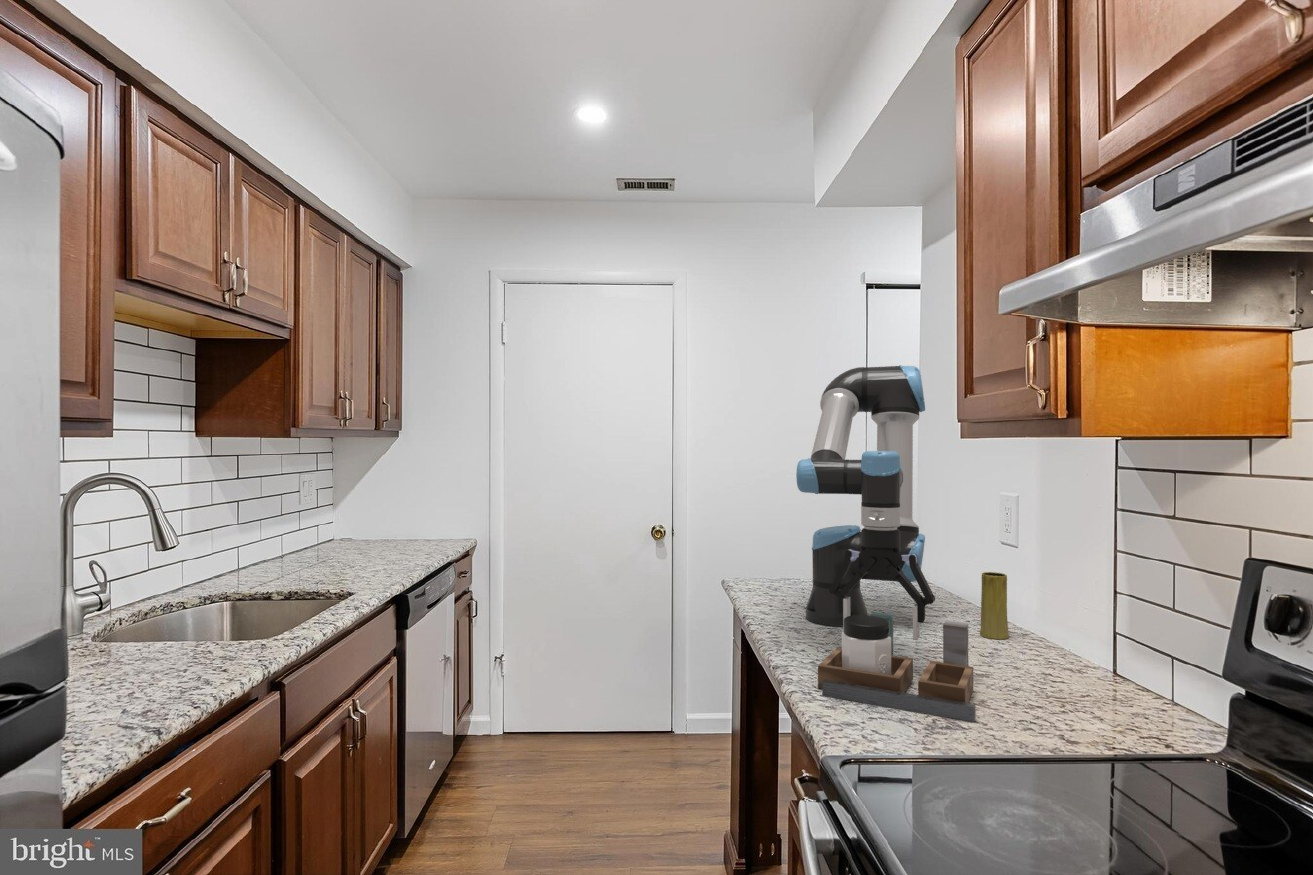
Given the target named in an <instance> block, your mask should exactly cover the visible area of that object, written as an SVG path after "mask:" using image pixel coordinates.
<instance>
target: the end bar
mask: <svg viewBox="0 0 1313 875" xmlns="http://www.w3.org/2000/svg"><path fill="white" fill-rule="evenodd" d="M821 690H822V692H821V696H822V697H828V698H834V699H839V700H845V701H850V702H857V703H864V704H869V705H873V706H874V705H875V706H879V707H886V708H892V709H897V710H903V711H909V712H914V713H921V714H926V715H931V716H937V717H943V718H948V719H952V720H953V719H955V720H959V721H960V720H961V721H967V722H971V723H975V722H976V719H977V718H976V714H977V713H976V712H977V711H976V707H977V706H976V704H975V703H970V702H969V703H964V702H958V701H952V700H946V699H940V698H934V697H928V696H922V695H918V694H913V693H909V692H905V693H903V692H897V691H891V690H885V689H879V688H873V687H866V686H860V685H854V684H848V683H842V682H836V681H830V680H824V681H823V682H822V688H821Z"/></svg>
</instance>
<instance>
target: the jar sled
mask: <svg viewBox="0 0 1313 875" xmlns="http://www.w3.org/2000/svg"><path fill="white" fill-rule="evenodd" d="M868 616H875V617H880V618H883V619H886V620H887V621H888V622H889V636H890V637H891V675H888V674H881V673H874V672H868V671H861V670H855V669H848V668H842V647H836V648H835V649H834V650H833V651H832V652H831V653H830V654H829V655H828V656H827V657H826V658H824V659H823V660H822V661H821V662H820V663H819V664H818V665H817V688H818V689H822V682H823V681H824V680H830V681H836V682H842V683H848V684H854V685H860V686H866V687H873V688H879V689H885V690H891V691H897V692H903V693H907V690H908V689H909V687H910V685H911V684H912V681H913V680H914V659H913V658H912V657H906V656H897V655H894V613H886V612H875V611H873V612H871V613H870V614H869V615H868Z"/></svg>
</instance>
